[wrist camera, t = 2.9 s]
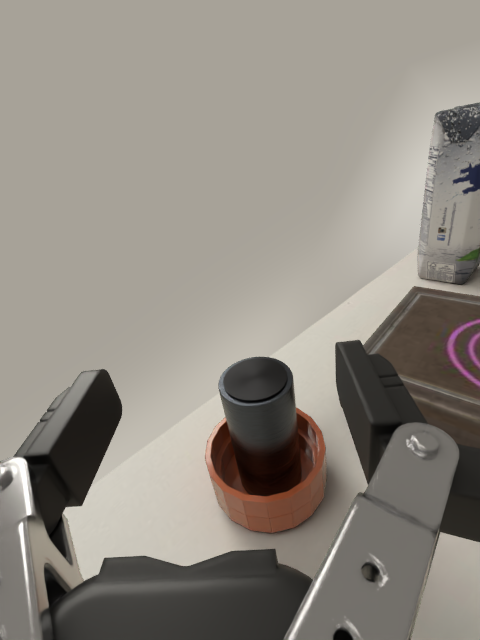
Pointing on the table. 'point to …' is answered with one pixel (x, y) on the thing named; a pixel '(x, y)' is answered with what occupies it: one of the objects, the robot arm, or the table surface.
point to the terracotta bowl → (274, 508)
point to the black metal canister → (262, 424)
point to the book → (437, 357)
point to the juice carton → (452, 198)
